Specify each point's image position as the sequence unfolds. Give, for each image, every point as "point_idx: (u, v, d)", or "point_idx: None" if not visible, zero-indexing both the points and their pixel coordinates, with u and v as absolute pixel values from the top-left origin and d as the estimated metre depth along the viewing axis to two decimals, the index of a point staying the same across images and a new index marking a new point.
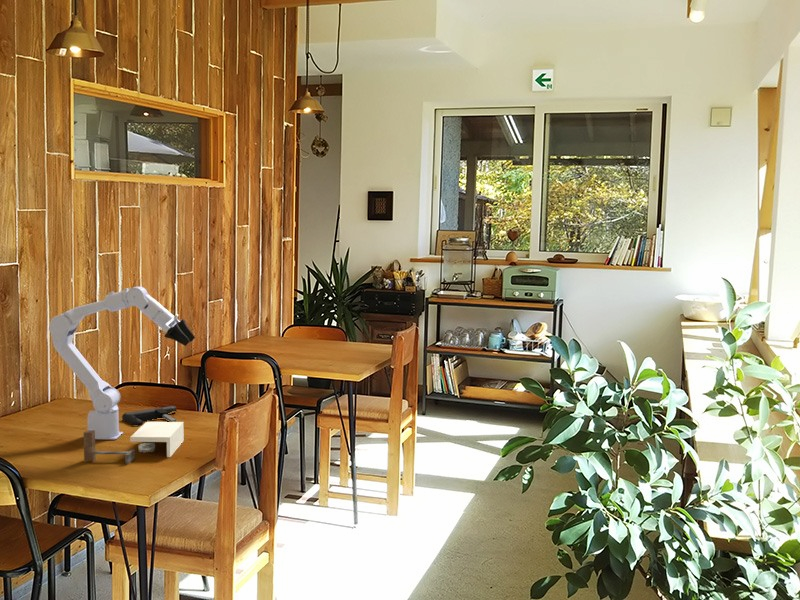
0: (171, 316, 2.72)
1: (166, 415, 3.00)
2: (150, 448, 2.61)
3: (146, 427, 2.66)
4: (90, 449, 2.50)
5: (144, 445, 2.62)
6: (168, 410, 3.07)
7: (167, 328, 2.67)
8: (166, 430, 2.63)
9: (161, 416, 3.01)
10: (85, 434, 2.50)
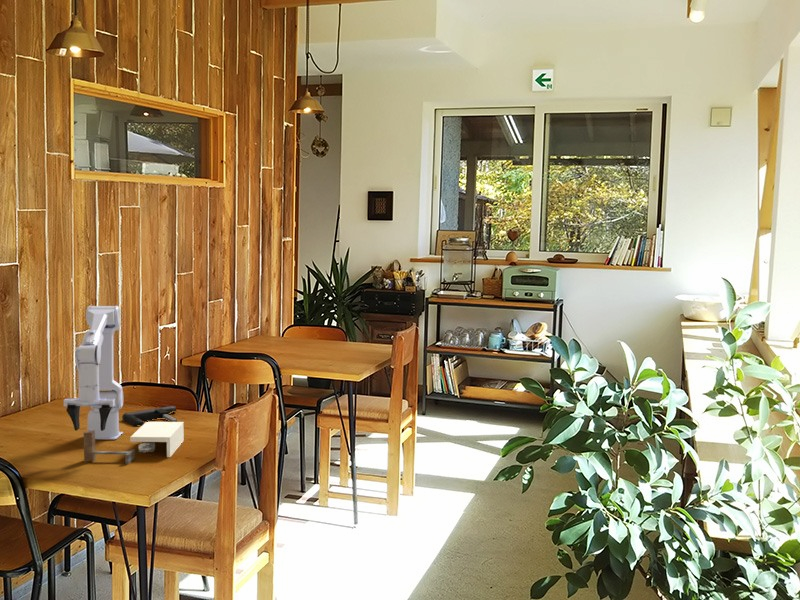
0: (82, 399, 2.47)
1: (166, 415, 3.00)
2: (150, 448, 2.61)
3: (146, 427, 2.66)
4: (90, 449, 2.50)
5: (144, 445, 2.62)
6: (168, 410, 3.07)
7: None
8: (166, 430, 2.63)
9: (161, 416, 3.01)
10: (85, 434, 2.50)
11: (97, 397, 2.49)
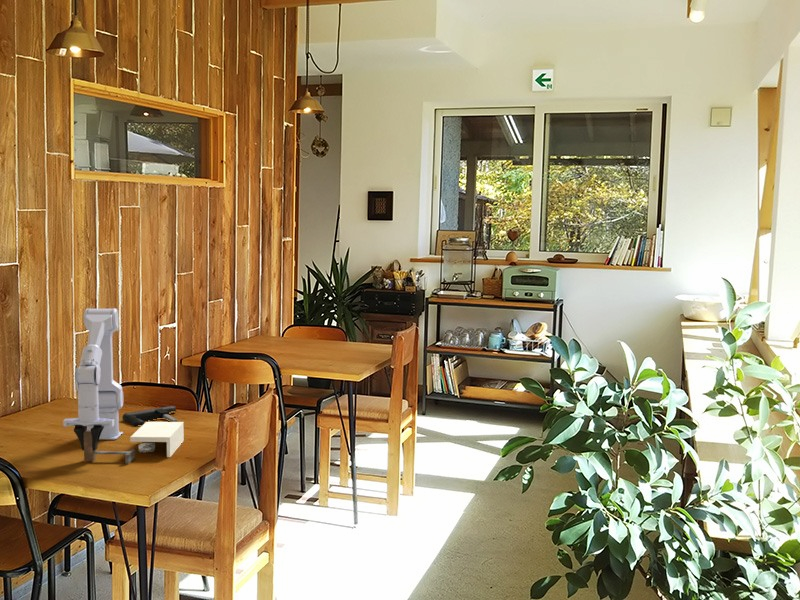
0: (81, 419, 2.48)
1: (167, 415, 3.00)
2: (150, 448, 2.61)
3: (146, 427, 2.66)
4: (90, 449, 2.50)
5: (144, 445, 2.62)
6: (168, 410, 3.07)
7: None
8: (166, 430, 2.63)
9: (161, 416, 3.01)
10: (85, 434, 2.50)
11: (96, 417, 2.49)
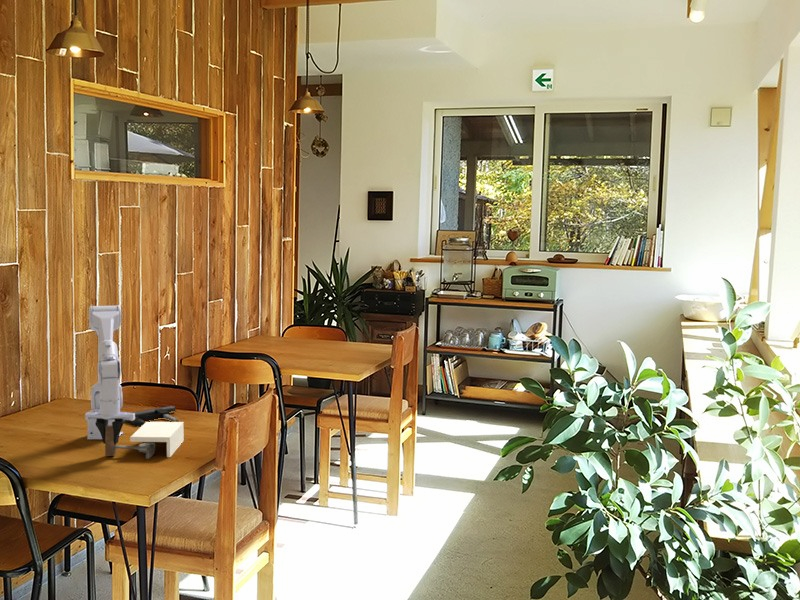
0: (103, 413, 2.52)
1: (167, 415, 3.00)
2: None
3: (146, 427, 2.66)
4: (111, 443, 2.55)
5: (144, 445, 2.62)
6: (167, 410, 3.07)
7: None
8: (166, 430, 2.63)
9: (162, 416, 3.01)
10: (107, 428, 2.54)
11: (118, 411, 2.54)
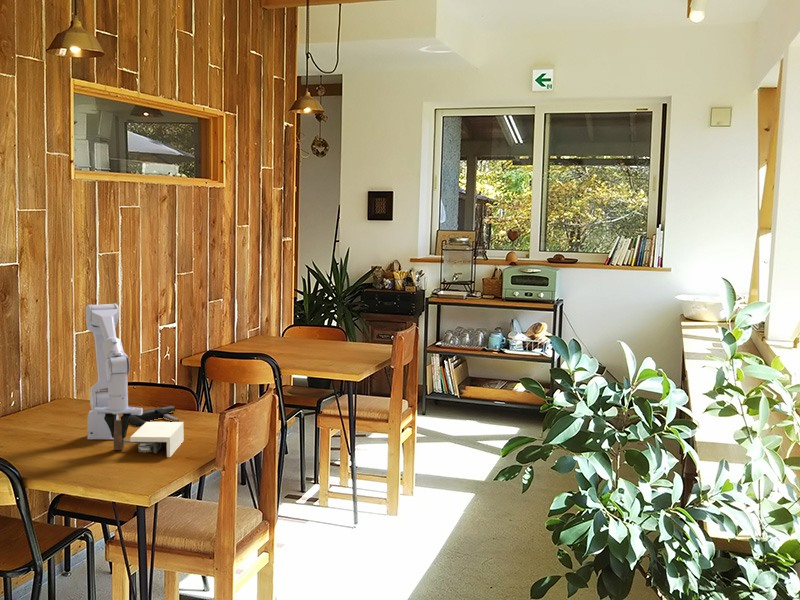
0: (112, 408, 2.59)
1: (167, 415, 3.00)
2: (150, 448, 2.61)
3: (146, 427, 2.66)
4: (119, 437, 2.61)
5: (144, 445, 2.62)
6: (167, 410, 3.07)
7: None
8: (166, 430, 2.63)
9: (162, 416, 3.01)
10: (116, 423, 2.61)
11: (126, 406, 2.60)
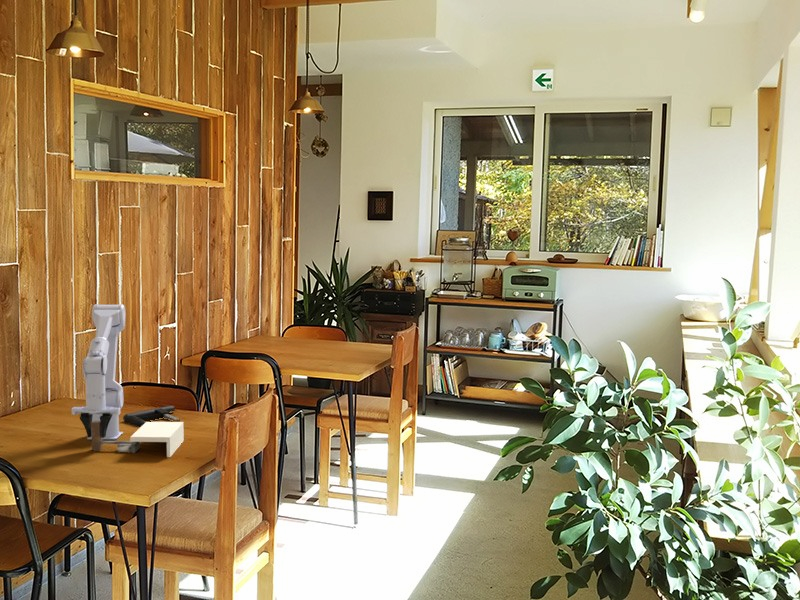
0: (89, 407, 2.58)
1: (168, 415, 3.01)
2: (130, 448, 2.61)
3: (146, 427, 2.66)
4: (97, 439, 2.61)
5: (123, 445, 2.62)
6: (167, 410, 3.07)
7: None
8: (166, 430, 2.63)
9: (162, 416, 3.01)
10: (93, 424, 2.60)
11: (103, 406, 2.60)
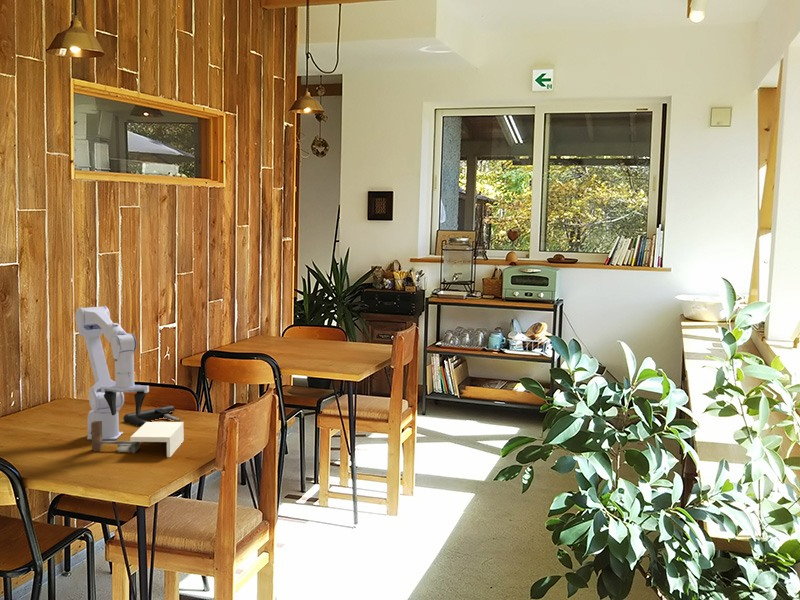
0: (118, 385, 2.62)
1: (168, 415, 3.01)
2: (130, 448, 2.61)
3: (146, 427, 2.66)
4: (97, 439, 2.61)
5: (123, 445, 2.62)
6: (167, 410, 3.07)
7: None
8: (166, 430, 2.63)
9: (162, 416, 3.01)
10: (93, 424, 2.60)
11: (132, 384, 2.64)
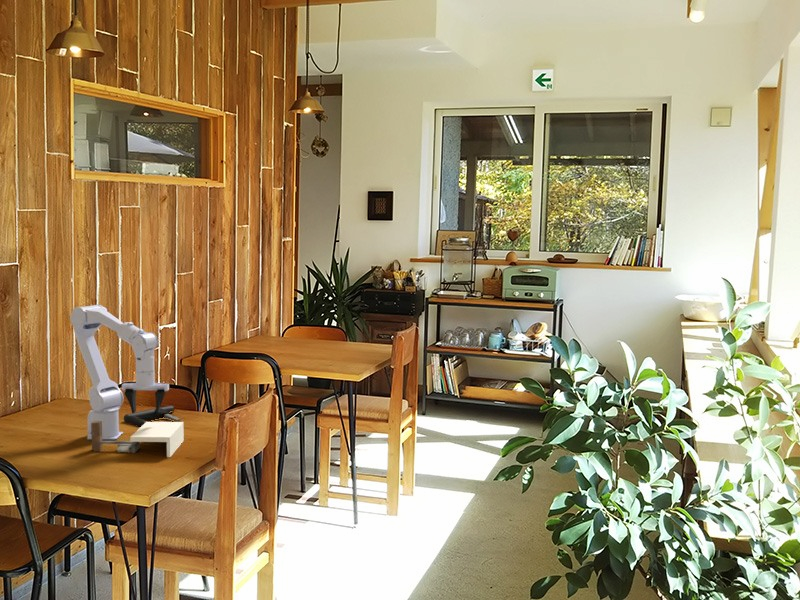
0: (139, 383, 2.65)
1: (168, 415, 3.01)
2: (130, 448, 2.61)
3: (146, 427, 2.66)
4: (97, 439, 2.61)
5: (123, 445, 2.62)
6: (167, 410, 3.07)
7: None
8: (166, 430, 2.63)
9: (163, 416, 3.01)
10: (93, 424, 2.60)
11: (153, 382, 2.67)
